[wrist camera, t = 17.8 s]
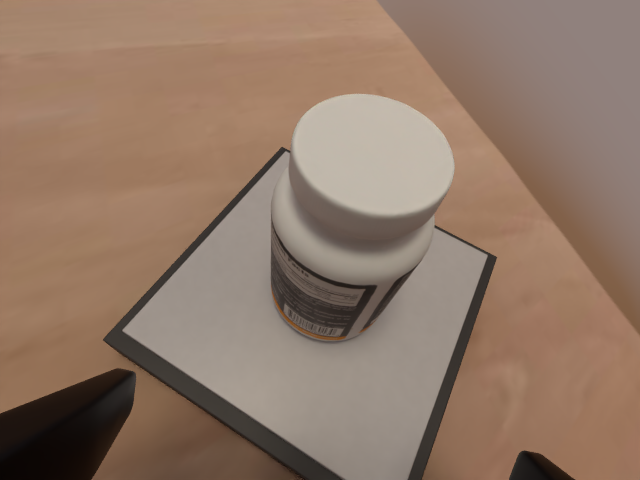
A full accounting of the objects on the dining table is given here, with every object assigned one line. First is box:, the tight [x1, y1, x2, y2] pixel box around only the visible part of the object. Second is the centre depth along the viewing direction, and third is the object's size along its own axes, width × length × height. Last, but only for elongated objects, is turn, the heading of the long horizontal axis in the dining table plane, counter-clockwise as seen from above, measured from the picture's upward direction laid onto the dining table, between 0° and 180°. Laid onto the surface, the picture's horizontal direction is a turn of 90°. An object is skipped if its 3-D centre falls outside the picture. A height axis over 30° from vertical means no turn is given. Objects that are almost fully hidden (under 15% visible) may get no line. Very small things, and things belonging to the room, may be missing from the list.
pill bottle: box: [270, 94, 454, 341], centre depth 15 cm, size 6×6×10 cm
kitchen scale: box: [103, 147, 497, 480], centre depth 20 cm, size 15×16×3 cm
